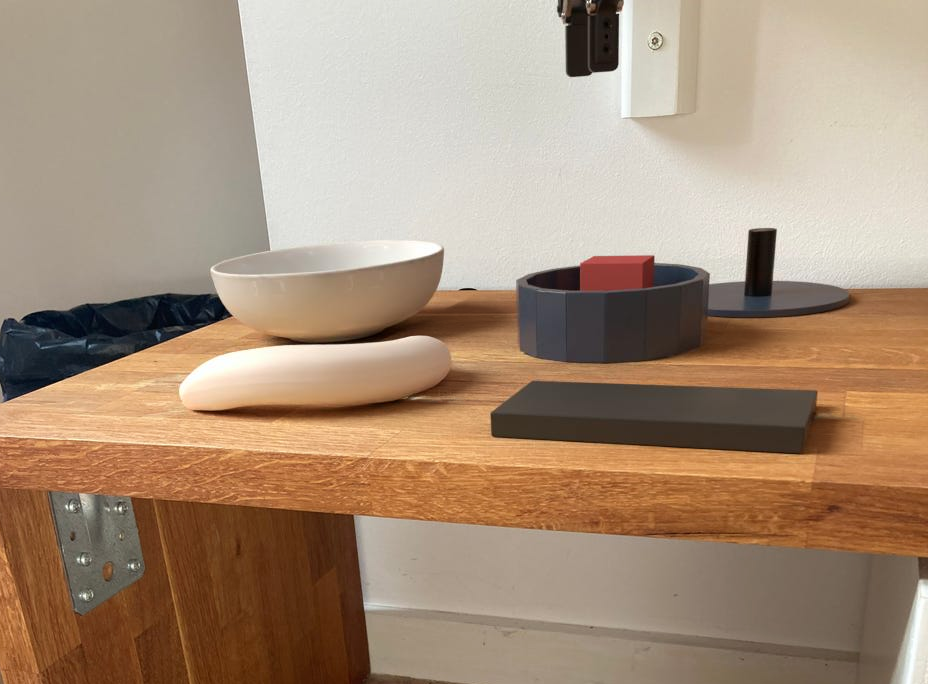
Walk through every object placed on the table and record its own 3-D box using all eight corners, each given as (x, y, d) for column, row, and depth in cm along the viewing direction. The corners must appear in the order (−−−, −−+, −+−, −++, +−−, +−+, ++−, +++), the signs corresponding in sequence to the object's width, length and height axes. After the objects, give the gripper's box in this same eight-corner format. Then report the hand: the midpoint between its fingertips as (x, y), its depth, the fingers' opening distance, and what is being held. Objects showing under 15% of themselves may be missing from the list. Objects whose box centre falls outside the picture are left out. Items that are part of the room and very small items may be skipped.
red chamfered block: (652, 332, 84) (654, 255, 81) (641, 342, 81) (643, 262, 78) (593, 331, 86) (593, 255, 83) (580, 341, 83) (579, 263, 80)
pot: (718, 331, 85) (722, 261, 83) (684, 372, 73) (688, 292, 71) (550, 329, 91) (549, 263, 88) (493, 366, 79) (490, 292, 76)
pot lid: (853, 293, 97) (862, 217, 94) (842, 326, 84) (851, 239, 81) (686, 293, 103) (689, 221, 99) (652, 323, 90) (655, 242, 87)
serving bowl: (300, 310, 108) (292, 240, 104) (483, 314, 99) (480, 238, 96) (174, 353, 91) (159, 272, 88) (381, 362, 83) (373, 272, 79)
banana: (163, 427, 69) (217, 376, 82) (446, 426, 68) (455, 376, 81) (152, 352, 66) (209, 313, 79) (445, 351, 65) (455, 311, 78)
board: (815, 414, 62) (818, 390, 61) (802, 454, 56) (805, 427, 55) (532, 402, 69) (531, 380, 68) (490, 436, 62) (489, 412, 61)
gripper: (670, -213, 68) (662, 67, 75) (618, -161, 80) (615, 74, 88) (558, -207, 67) (561, 74, 75) (523, -156, 80) (529, 80, 87)
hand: (590, 74), depth 81 cm, fingers open, 8 cm apart
